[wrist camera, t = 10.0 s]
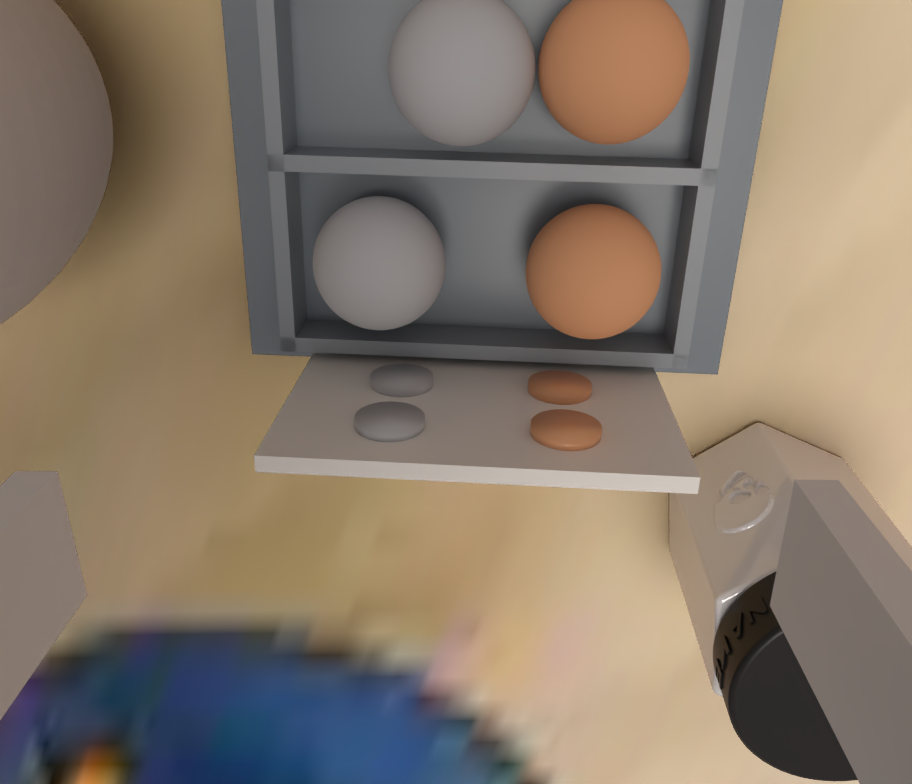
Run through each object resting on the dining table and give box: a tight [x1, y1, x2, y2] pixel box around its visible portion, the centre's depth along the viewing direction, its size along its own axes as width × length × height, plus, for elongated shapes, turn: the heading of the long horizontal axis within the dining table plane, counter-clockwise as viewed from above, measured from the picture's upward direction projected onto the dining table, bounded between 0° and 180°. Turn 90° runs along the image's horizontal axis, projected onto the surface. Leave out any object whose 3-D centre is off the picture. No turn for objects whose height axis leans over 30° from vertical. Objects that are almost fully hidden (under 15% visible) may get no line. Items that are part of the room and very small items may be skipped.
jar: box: [669, 423, 912, 781], centre depth 32 cm, size 9×8×12 cm
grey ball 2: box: [388, 0, 535, 147], centre depth 27 cm, size 5×5×5 cm
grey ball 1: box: [313, 196, 446, 330], centre depth 30 cm, size 5×5×5 cm
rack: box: [221, 0, 783, 494], centre depth 27 cm, size 20×17×11 cm
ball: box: [538, 0, 690, 145], centre depth 27 cm, size 5×5×5 cm
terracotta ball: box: [526, 204, 661, 339], centre depth 30 cm, size 5×5×5 cm
